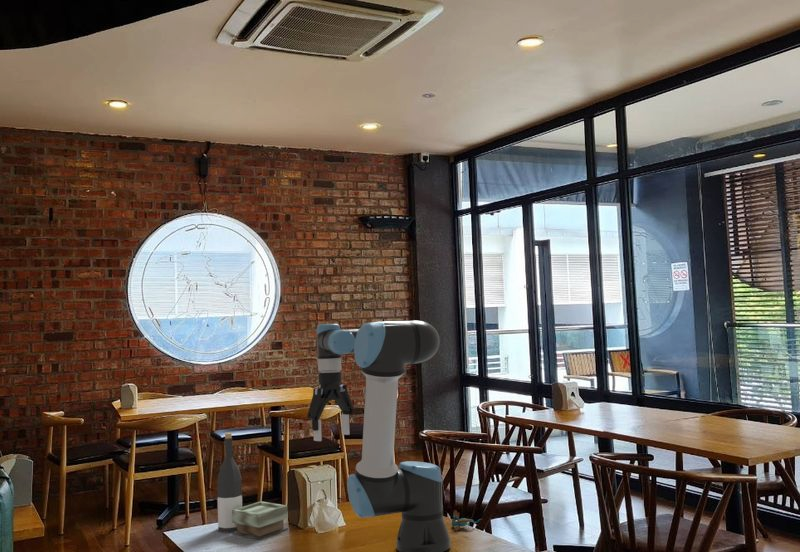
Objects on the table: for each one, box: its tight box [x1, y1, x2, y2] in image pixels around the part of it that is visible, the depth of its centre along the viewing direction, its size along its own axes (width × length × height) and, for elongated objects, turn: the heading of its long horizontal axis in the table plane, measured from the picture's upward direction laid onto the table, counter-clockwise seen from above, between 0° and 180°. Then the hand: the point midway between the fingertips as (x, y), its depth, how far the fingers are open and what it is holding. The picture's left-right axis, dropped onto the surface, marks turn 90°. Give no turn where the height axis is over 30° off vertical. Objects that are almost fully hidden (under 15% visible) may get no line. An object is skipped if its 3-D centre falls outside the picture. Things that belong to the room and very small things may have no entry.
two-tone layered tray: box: [231, 501, 289, 541], centre depth 228 cm, size 12×12×7 cm
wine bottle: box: [216, 432, 243, 533], centre depth 233 cm, size 8×8×30 cm
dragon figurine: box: [450, 509, 483, 532], centre depth 224 cm, size 6×7×8 cm
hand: (332, 437), depth 238 cm, fingers open, 13 cm apart
